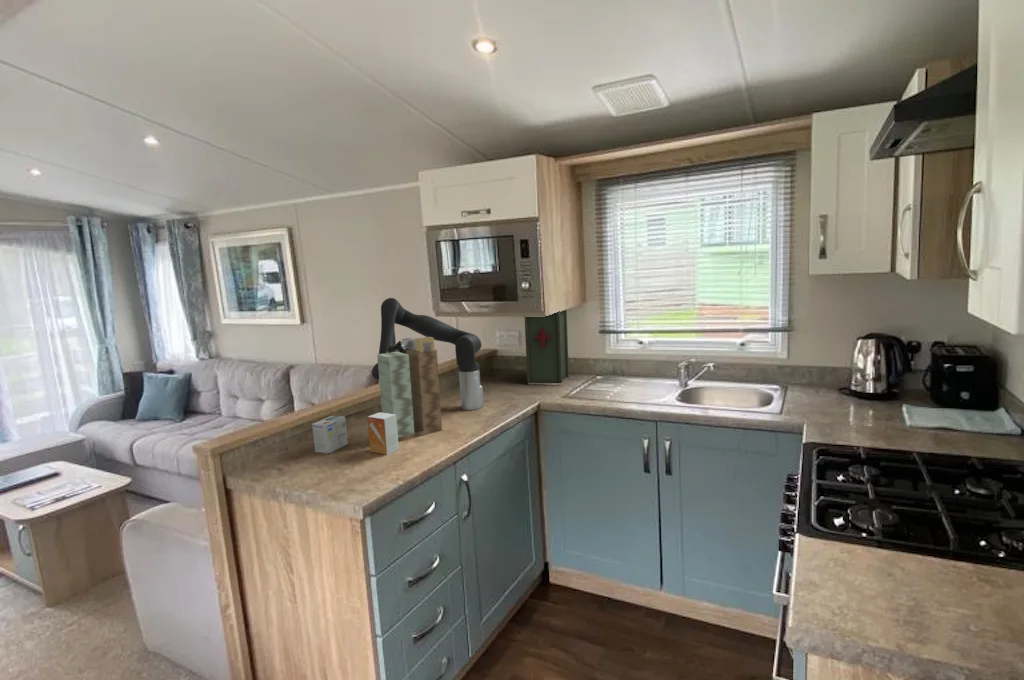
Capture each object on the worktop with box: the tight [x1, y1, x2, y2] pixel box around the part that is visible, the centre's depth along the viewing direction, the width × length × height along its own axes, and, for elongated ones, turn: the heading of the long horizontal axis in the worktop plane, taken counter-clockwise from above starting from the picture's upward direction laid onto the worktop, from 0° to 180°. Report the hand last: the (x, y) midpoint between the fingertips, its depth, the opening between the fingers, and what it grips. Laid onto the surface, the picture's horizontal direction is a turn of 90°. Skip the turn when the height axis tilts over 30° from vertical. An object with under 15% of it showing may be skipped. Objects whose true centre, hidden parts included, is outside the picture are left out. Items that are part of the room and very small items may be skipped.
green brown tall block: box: [376, 349, 443, 442], centre depth 207 cm, size 20×10×32 cm, turn 128°
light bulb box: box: [311, 415, 349, 454], centre depth 196 cm, size 11×7×11 cm, turn 159°
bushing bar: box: [401, 336, 435, 353], centre depth 212 cm, size 6×18×5 cm, turn 38°
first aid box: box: [524, 309, 570, 383], centre depth 287 cm, size 18×18×40 cm
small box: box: [367, 411, 400, 456], centre depth 190 cm, size 8×6×13 cm
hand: (410, 341), depth 215 cm, fingers open, 8 cm apart
